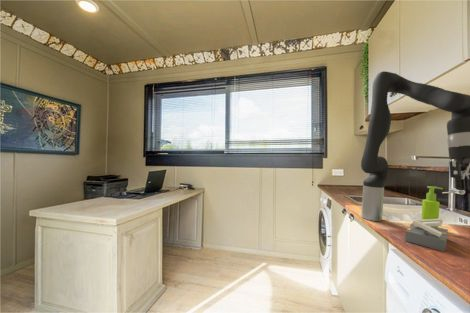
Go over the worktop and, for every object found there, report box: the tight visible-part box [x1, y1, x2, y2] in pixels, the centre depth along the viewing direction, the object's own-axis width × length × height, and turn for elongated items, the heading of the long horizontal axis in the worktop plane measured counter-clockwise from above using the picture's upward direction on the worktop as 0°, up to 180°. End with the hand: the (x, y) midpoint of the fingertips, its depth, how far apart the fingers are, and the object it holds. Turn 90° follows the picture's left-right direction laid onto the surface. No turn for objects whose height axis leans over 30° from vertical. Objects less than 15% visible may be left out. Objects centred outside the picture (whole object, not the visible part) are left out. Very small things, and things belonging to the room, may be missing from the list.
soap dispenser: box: [420, 185, 444, 227], centre depth 98 cm, size 6×7×20 cm
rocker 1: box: [417, 217, 444, 224], centre depth 88 cm, size 3×8×1 cm, turn 42°
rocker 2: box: [413, 221, 443, 227], centre depth 84 cm, size 3×8×1 cm, turn 42°
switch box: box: [404, 223, 449, 252], centre depth 84 cm, size 18×11×5 cm, turn 132°
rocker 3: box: [411, 219, 442, 237], centre depth 79 cm, size 3×8×1 cm, turn 42°
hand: (467, 189), depth 75 cm, fingers open, 8 cm apart
